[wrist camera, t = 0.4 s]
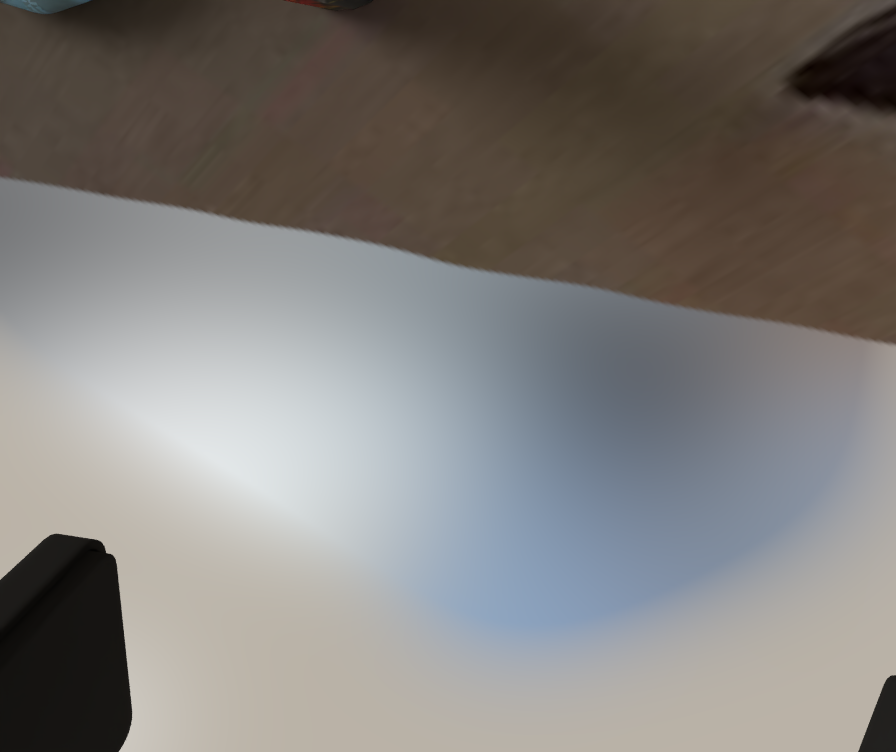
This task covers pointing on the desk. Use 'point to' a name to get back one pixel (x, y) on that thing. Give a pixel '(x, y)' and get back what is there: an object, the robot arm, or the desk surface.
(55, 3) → the ring
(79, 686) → the robot arm
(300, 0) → the deodorant
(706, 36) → the desk surface
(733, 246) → the desk surface
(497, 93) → the desk surface
